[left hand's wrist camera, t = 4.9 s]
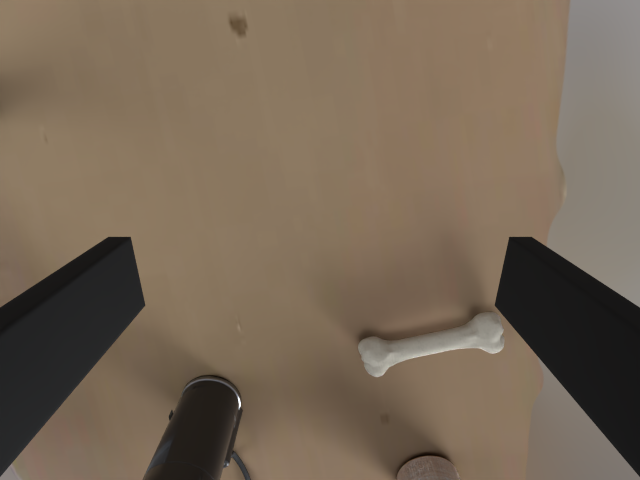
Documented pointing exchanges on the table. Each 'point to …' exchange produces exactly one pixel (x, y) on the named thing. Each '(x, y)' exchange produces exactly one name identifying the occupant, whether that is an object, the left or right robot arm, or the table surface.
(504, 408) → the table surface
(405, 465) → the planter
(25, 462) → the table surface
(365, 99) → the table surface
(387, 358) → the dog toy
